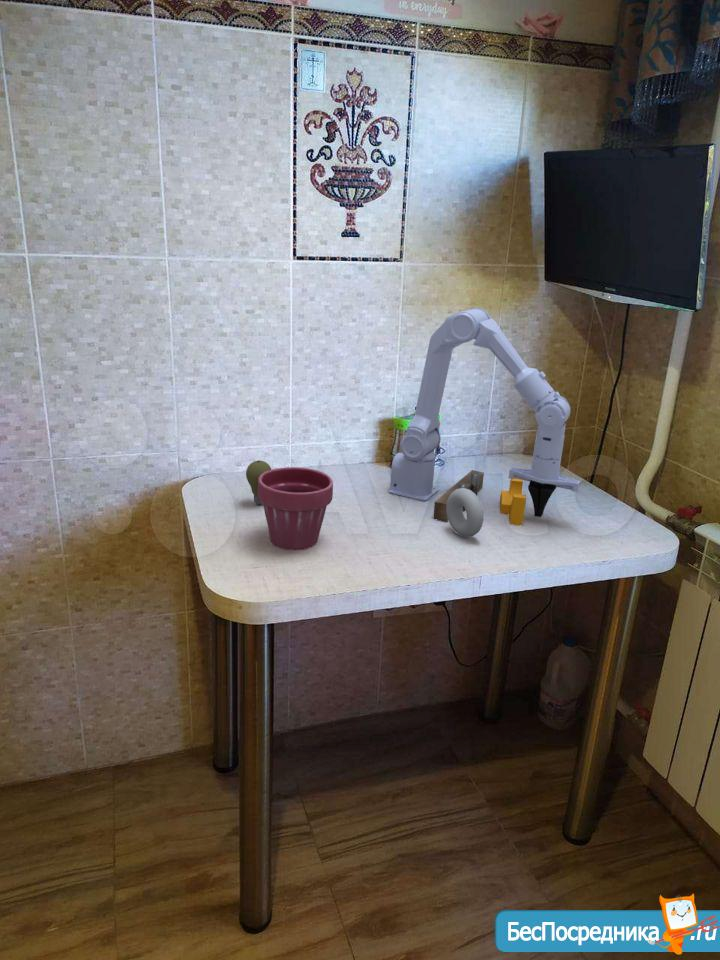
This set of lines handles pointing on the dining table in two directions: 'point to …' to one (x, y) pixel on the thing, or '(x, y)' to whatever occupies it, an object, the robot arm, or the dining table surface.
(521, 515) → the pipe clamp
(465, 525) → the donut
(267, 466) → the light bulb
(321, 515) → the plant pot
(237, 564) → the dining table surface
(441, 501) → the bench fence
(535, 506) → the robot arm
